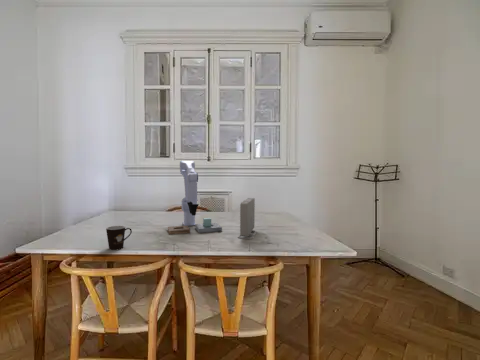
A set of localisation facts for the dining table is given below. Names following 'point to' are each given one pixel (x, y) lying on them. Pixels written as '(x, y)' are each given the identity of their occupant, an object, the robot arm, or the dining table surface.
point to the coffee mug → (116, 236)
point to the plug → (206, 222)
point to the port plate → (208, 228)
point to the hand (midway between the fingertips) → (192, 214)
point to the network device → (247, 218)
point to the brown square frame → (178, 229)
